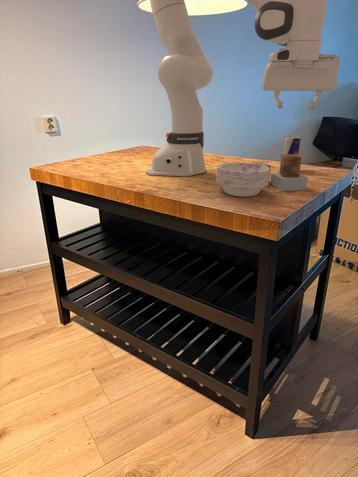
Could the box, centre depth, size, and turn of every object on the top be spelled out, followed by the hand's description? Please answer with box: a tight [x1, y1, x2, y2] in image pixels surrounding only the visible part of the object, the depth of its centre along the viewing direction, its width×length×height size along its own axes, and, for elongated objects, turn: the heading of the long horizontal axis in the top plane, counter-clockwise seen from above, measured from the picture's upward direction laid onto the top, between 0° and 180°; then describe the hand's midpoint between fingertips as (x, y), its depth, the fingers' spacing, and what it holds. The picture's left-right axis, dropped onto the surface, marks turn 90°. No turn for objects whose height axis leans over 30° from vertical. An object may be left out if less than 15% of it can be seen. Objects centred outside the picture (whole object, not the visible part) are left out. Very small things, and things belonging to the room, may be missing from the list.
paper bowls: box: [215, 162, 271, 198], centre depth 104 cm, size 15×15×8 cm
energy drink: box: [283, 135, 301, 156], centre depth 130 cm, size 5×5×12 cm
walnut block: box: [279, 153, 302, 177], centre depth 109 cm, size 5×5×6 cm
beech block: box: [253, 161, 272, 184], centre depth 116 cm, size 5×5×6 cm
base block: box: [270, 172, 308, 192], centre depth 110 cm, size 8×8×4 cm
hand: (295, 108), depth 102 cm, fingers open, 8 cm apart
